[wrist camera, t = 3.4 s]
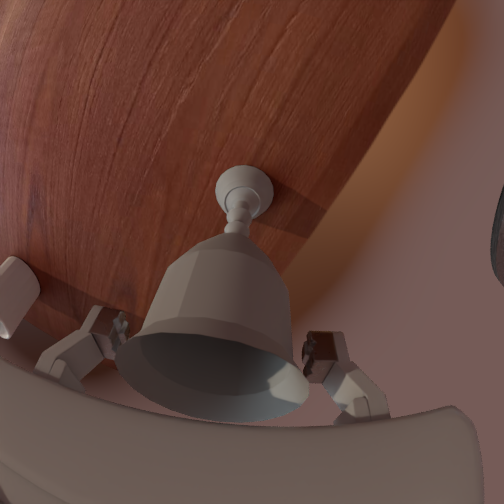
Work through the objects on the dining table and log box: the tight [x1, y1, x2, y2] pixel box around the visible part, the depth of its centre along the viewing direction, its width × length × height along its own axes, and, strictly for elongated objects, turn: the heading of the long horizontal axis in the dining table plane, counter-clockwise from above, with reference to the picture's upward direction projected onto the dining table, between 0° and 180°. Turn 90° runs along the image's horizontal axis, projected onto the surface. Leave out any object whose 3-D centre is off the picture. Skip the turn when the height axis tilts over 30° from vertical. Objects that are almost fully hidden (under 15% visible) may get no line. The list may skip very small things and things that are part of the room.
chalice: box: [114, 165, 309, 422], centre depth 17 cm, size 7×7×18 cm
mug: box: [0, 256, 40, 339], centre depth 29 cm, size 8×12×10 cm
